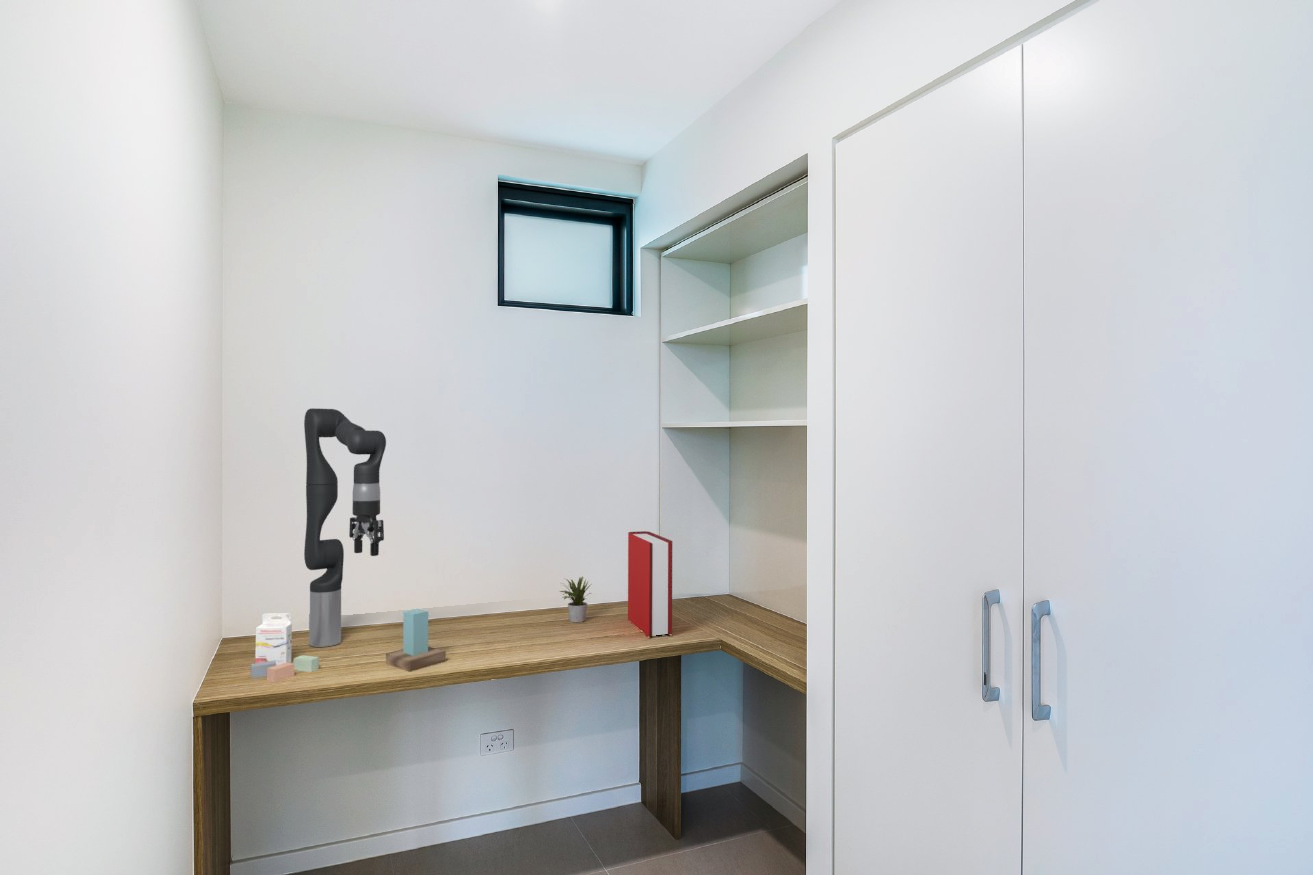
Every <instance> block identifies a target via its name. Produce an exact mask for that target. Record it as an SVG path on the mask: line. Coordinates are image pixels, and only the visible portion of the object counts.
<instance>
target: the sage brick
mask: <svg viewBox="0 0 1313 875" xmlns="http://www.w3.org/2000/svg"><path fill="white" fill-rule="evenodd" d="M293 664H294V671H300V672H308V673H309V672H310V673H312V672H314V671H317V670H319V669H320V657H319V656H313V655H311V656H310V655H299V656H296V657H293Z"/></svg>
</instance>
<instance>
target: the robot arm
mask: <svg viewBox="0 0 1313 875" xmlns="http://www.w3.org/2000/svg"><path fill="white" fill-rule="evenodd" d="M303 424H304V426H303V428H304V439H305V440H304V441H305V451H306V452H305V453H306V480H305V484H306V485H305V498H306V499H305V500H306V523H305V525H306V526H305V539H304V554H303V557H304V563H305V566H306V568H307V569H308V570H310V571H317V570H319V571H320V570H326V571H325V572H324V573H323V574H322V575H321V576H319V577H317V578H314V579H313V580H311V582H310V583H309V614H308V643H309V646H311V647H314V648H315V647H316V648H321V647H322V648H323V647H324V648H325V647H326V648H327V647H331V646H336V645H339V644H341V643H342V583H343V578H344V576H343V573H344V558H345V552H344V551H345V550H344V545H343V543H342V542H341V540H340V539H338V538H329V539H321V532H322V528H323V525H324V524H325V522H326V519H327V518H328V517H329V515H330V513H331V512H332V510H333V509H334V506H335V505H336V503H337V501H338V496H339V494H338V493H339V490H338V488H339V486H338V483H339V481H338V477H337V476H338V475H337V474H336V472H335V470H334V469H333V468H332V466H331V464H330V463H329V462H328V460H327V459H326V457H325V456H324V453H323V450H322V447H321V443H320V438H336V439H337V441H338V442H339V443H340V444H342V445H344V446H346V447H347V450H348V452H349V453H350V454H352V455H357V456H358V455H369V457H368V458H367V460H366V461H362V462H359V463H356V464H354V466H353V486H352V516H355V517H352V516H351V517H349V530H348V531H349V536H348V537H349V538H351V539H352V540H353V541H354V543H353V546H354V547H353V552H354V554H362V553H363V537H364V536H366V537H368V539H369V542H370V545H369V546H370V549H369V550H370V552H369V555H370V556H371V557H376V556H379V555H380V553H379V552H380V551H379V550H380V547H379V546H380V545H379V544H380V542H382V541H384V540H385V533H384V532H385V531H384V527H385V526H384V520H383V519H377V516H378V515H380V514H381V486H380V469H381V465H382V461H383V457H384V454H385V450H386V447H387V438H386V436H385V434H384V433H383V432H382V431H380V430H366V429H365V428H364V427H362V426H360V425H358V424H356V423H353V422H352V421H350V419H349V418H348V417H346V416H345V414H344V413H342V412H341V411H339V410H338V409H335V408H316V407H315V408H309V409H307V410H306V412H305V415H304V421H303Z"/></svg>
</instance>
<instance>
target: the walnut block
mask: <svg viewBox="0 0 1313 875" xmlns="http://www.w3.org/2000/svg"><path fill="white" fill-rule="evenodd" d="M446 654H447V653H446V650H442V649H439V648H435V647H432V646H429V645H428V652H426V653H422V654H418V655H415V656H412V655H409V654H406V653H403V648H402V649H397V650H394V651H390V652H386V653H385V664H386V665H389V666H392V667H395V668H398V669H401V670H405V671H406V672H414V671H417V670H421V669H424V668H427V667H431V665H432V666H435V665H439V664H441V662H442V663H444V662H445V661H446V660H447V658H446V657H447V656H446ZM438 663H439V664H438Z"/></svg>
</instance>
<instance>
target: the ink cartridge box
mask: <svg viewBox="0 0 1313 875" xmlns="http://www.w3.org/2000/svg"><path fill="white" fill-rule="evenodd" d="M276 617H277V618H276ZM273 618H274V619H273ZM261 622H262V623H261V624H259V625H258V626H256V627H255V650H254V651H255V659H254V660H255V661H254V663H260V662H267V661H274V660H275V661H276V665H280V664H283V663H286V662H289V663H292V642H293V641H292V631H293V630H292V629H293V628H292V627H293V624H292V614H291V613H290V612H277V613H275V612H270V613H265V612H264V613H262V615H261Z"/></svg>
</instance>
